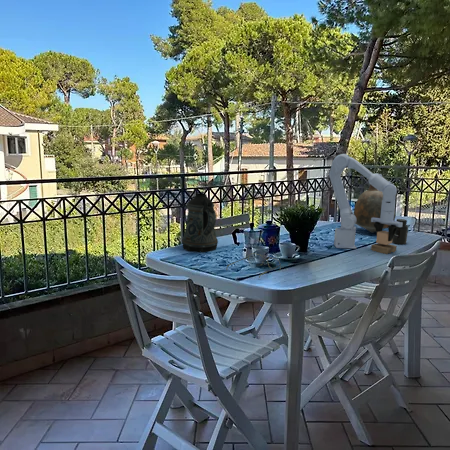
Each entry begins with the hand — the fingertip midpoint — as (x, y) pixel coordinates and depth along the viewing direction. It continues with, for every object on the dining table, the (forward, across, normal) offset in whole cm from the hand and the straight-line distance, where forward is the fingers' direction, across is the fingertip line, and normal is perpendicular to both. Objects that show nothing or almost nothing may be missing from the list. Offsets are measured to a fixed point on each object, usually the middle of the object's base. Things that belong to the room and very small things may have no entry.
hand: (384, 239), depth 197 cm
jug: (+6, +25, -30) cm, 40 cm away
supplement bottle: (+6, +4, -20) cm, 22 cm away
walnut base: (+6, 0, 0) cm, 6 cm away
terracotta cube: (+2, 0, 0) cm, 2 cm away
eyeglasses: (+6, +14, +69) cm, 71 cm away
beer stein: (+6, +52, +66) cm, 84 cm away
